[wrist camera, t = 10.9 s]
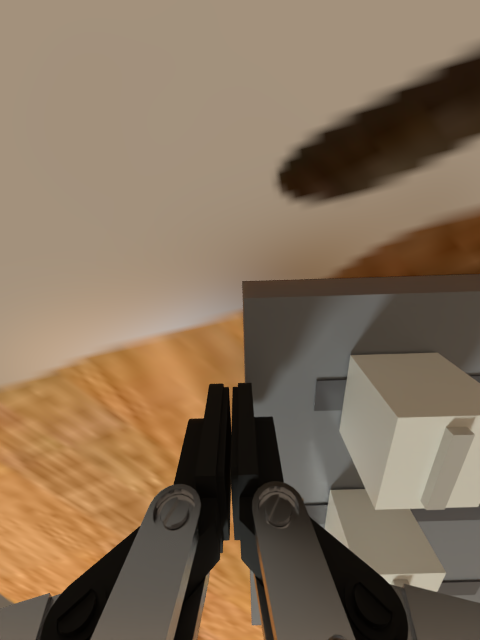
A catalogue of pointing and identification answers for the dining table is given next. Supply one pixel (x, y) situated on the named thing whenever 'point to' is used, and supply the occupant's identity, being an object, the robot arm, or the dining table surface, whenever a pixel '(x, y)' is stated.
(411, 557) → the switch
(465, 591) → the console
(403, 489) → the switch
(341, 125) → the dining table surface
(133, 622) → the robot arm
